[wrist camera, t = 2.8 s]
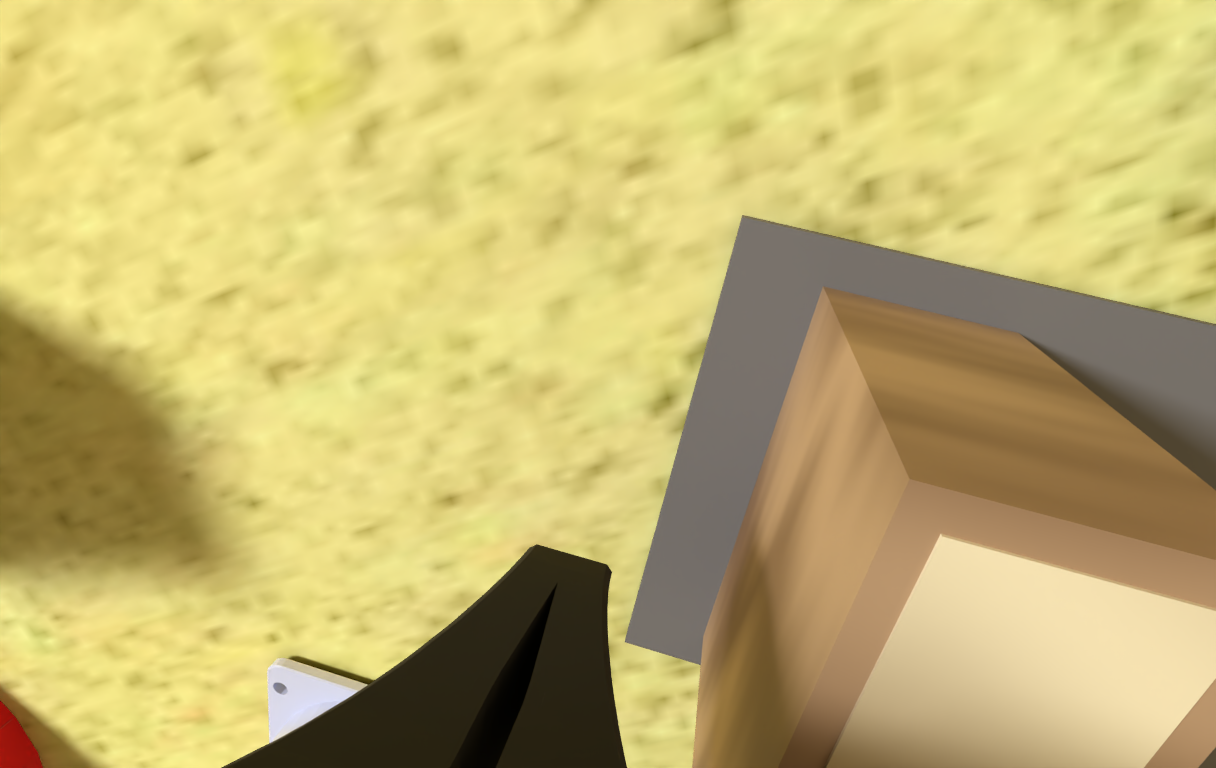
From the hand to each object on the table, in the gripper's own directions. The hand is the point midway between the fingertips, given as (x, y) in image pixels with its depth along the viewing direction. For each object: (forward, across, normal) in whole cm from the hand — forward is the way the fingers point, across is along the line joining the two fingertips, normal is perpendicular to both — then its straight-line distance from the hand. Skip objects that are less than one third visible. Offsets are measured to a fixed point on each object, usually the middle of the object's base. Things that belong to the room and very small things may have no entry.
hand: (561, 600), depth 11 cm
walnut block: (+6, -5, 0) cm, 8 cm away
